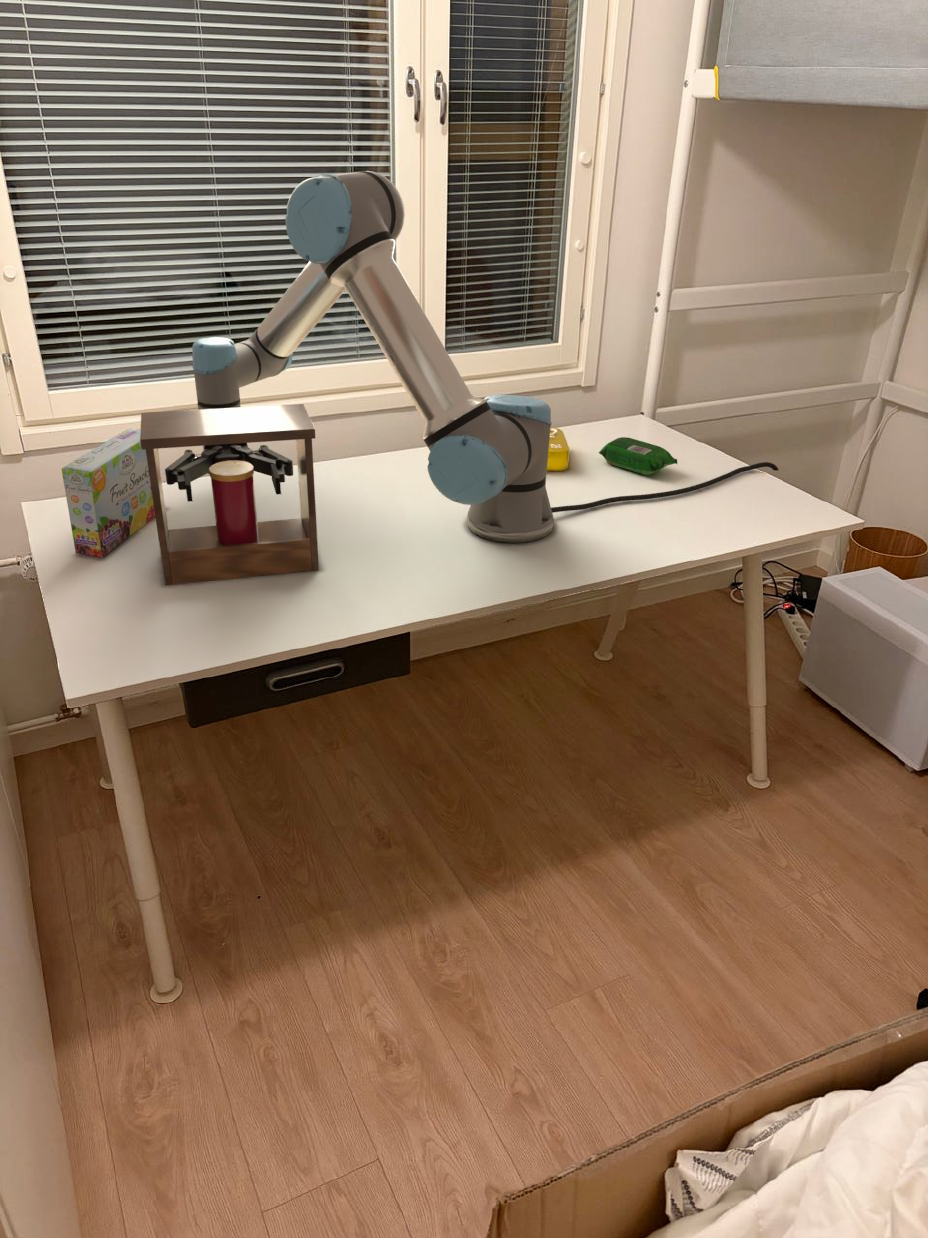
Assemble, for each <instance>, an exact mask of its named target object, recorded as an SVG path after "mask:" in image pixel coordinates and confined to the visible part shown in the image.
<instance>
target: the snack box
mask: <svg viewBox="0 0 928 1238" xmlns="http://www.w3.org/2000/svg"><path fill="white" fill-rule="evenodd" d="M140 432H141V428H126V429H125V430H123V431H122V432H121V433H118V434H117V435H115V436H113V437H112V438H110V439H108V440H106V441H105V442H104V443H102V444H100V445H98V446H97V447H95V448H94V449H91V450H90V451H88V452H86V453H85V454H83V455H82V456H80V457H78V458H76V459H74V460H73V461H71V462H70V463H68V464H67V465H65V466H62V468H60V471H61V474H62V475H61V476H62V481H63V486H64V492H65V499H66V505H67V509H68V514H69V521H70V528H71V533H72V541H73V545H74V551H75V554H76V555H77V554H78V555H84V556H89V557H95V558H102V559H103V558H105V556H107V555H108V554H110V552H112V551H113V550H114V549H116V548H117V547H118V546H120V545H121V544H122V543H123V542H124V541H126V540H127V539H129V538H130V537H131V536H133V535H134V534H135V533H136V532H137V531H139V530H140V529H141V528H143V527H144V526H146V525H147V524H148V523H149V522H151V521H152V520H153V519H154V518H155V511H154V504H153V498H152V491H151V484H150V477H149V470H148V463H147V457H146V450H145V449H143V450H142V449H141V442H140ZM157 452H158V453H159V449H157ZM158 459H159V460H160V456H159V454H158ZM159 466H160V467H161V463H160V462H159ZM160 473H161V471H160ZM161 474H162V473H161Z"/></svg>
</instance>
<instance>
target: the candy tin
mask: <svg viewBox="0 0 928 1238" xmlns="http://www.w3.org/2000/svg"><path fill="white" fill-rule="evenodd" d="M254 474H255V471H254V469H253V465H252V464H250V463H248V462H245V461H237V460H231V461H223V462H218V463H215V464H213V465H212V466H210V468H209V474H208V475H209V478H210V483H211V484H210V485H211V493H212V501H213V510H214V519H215V526H216V529H217V537H218V542H219V543H220V544H222V545H234V544H245V543H255V542H256V541H257V540H258V538H259V536H258V525H257V522H258V515H257V514H258V513H257V504H256V493H255V483H254Z"/></svg>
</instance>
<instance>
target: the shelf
mask: <svg viewBox="0 0 928 1238" xmlns="http://www.w3.org/2000/svg"><path fill="white" fill-rule="evenodd" d="M140 429H141V432H140V442H141V449H142V450H143V449H145V450H146V457H147V463H148V470H149V477H150V484H151V491H152V498H153V504H154V511H155V517H154V518H155V525H156V530H157V539H158V542H159V543H158V546H159V552H160V558H161V565H162V571H163V579H164V585H165V586H170V585H171V586H172V585H181V584H191V583H200V582H212V581H220V580H230V579H231V580H233V579H241V578H250V577H251V578H252V577H262V576H263V577H264V576H270V575H281V574H282V575H283V574H291V573H292V574H293V573H301V572H312V571H320V564H319V563H320V562H319V547H318V529H317V528H318V526H317V509H316V508H317V506H316V488H315V470H314V454H313V453H314V452H313V440H315V439H316V429H315V426H314V423H313V421H312V419H311V417H310V415H309V413H308V411H307V408H306V406H305V403H297V404H296V403H295V404H278V405H259V406H257V405H256V406H240V407H239V408H221V409H202V410H198V409H186V410H170V411H149V412H141V413H140ZM282 441H295V444H296V459H297V475H298V476H297V477H298V491H299V492H298V493H299V507H300V509H299V510H300V518H290V519H279V520H278V519H277V520H265V521H264V520H263V521H257V525H258V536H259V538H258V540H257V541H256V542H255V543H245V544H234V545H222V544H220V543H219V542H218V537H217V529H216V525H206V526H196V527H182V528H171V529H169V523H168V517H167V510H166V509H167V508H166V501H165V495H164V488H163V481H162V473H160V472H161V465H160V466H159V463H160V458H159V459H158V455H159V451H158V452H157V449H158V450H159V449H173V448H188V447H189V448H190V447H203V446H206V445H221V444H237V443H247V444H250V443H251V444H252V443H265V442H266V443H268V442H282Z"/></svg>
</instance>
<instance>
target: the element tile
mask: <svg viewBox="0 0 928 1238" xmlns="http://www.w3.org/2000/svg"><path fill="white" fill-rule="evenodd" d="M569 461H570V447H569V444H568V441H567V439H566V436H565V434H564V432H563V431H562V430H561V429H560V428H557V427H556V428H555V427H553V428H552V427H550V438H549V450H548V462H547V471H548V472H563V471H566V470H567V469H568V468H569Z"/></svg>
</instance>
